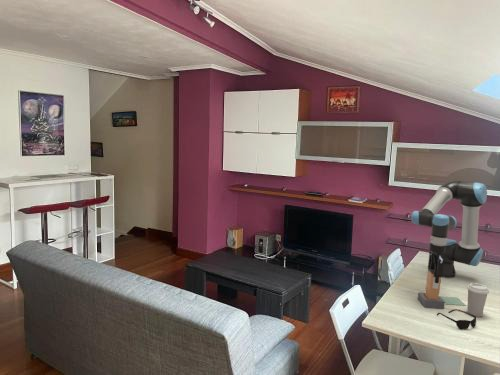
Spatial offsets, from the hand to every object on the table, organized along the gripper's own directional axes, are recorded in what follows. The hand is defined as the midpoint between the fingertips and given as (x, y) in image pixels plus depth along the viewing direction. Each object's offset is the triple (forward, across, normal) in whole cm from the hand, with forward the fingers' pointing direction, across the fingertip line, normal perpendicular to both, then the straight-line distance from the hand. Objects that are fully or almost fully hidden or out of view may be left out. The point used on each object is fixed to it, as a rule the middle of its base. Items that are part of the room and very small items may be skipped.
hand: (432, 285), depth 200 cm
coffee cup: (+11, +8, +19) cm, 23 cm away
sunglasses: (+11, +17, +5) cm, 21 cm away
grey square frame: (+10, 0, 0) cm, 10 cm away
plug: (+7, 0, 0) cm, 7 cm away
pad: (+11, -6, +14) cm, 19 cm away
